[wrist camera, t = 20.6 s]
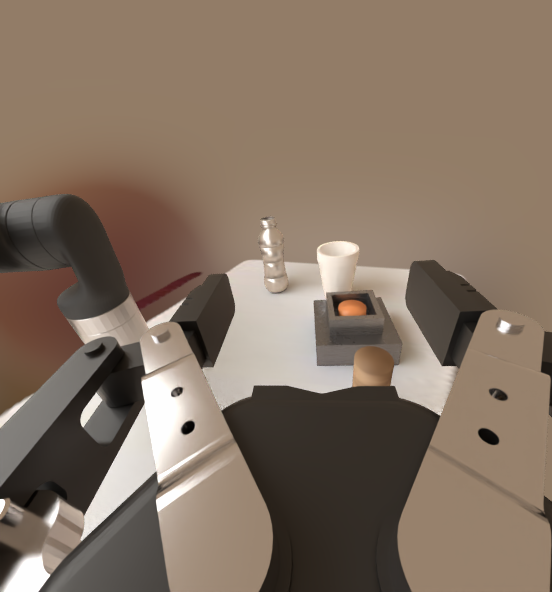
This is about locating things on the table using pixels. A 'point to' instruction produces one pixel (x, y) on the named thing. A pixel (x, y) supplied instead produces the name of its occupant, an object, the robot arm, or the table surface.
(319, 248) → the foam cup
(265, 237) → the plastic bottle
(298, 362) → the table surface
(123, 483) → the table surface
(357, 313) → the breaker button
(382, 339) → the grey button housing
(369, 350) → the stick
